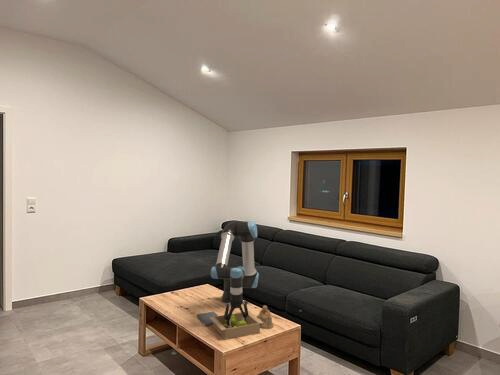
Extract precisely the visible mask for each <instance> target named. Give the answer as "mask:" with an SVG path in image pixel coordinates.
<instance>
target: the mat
mask: <svg viewBox="0 0 500 375" xmlns="http://www.w3.org/2000/svg"><path fill="white" fill-rule="evenodd" d="M216 316H218V315H217V313H216V312H214V311H210V312H203V313H197V314H196V318H198V319H199V320H200V322H201V323H202V324H203V325H204V327H210V326H212V327H213V321H212V320H211V319H210V317H216Z"/></svg>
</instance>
